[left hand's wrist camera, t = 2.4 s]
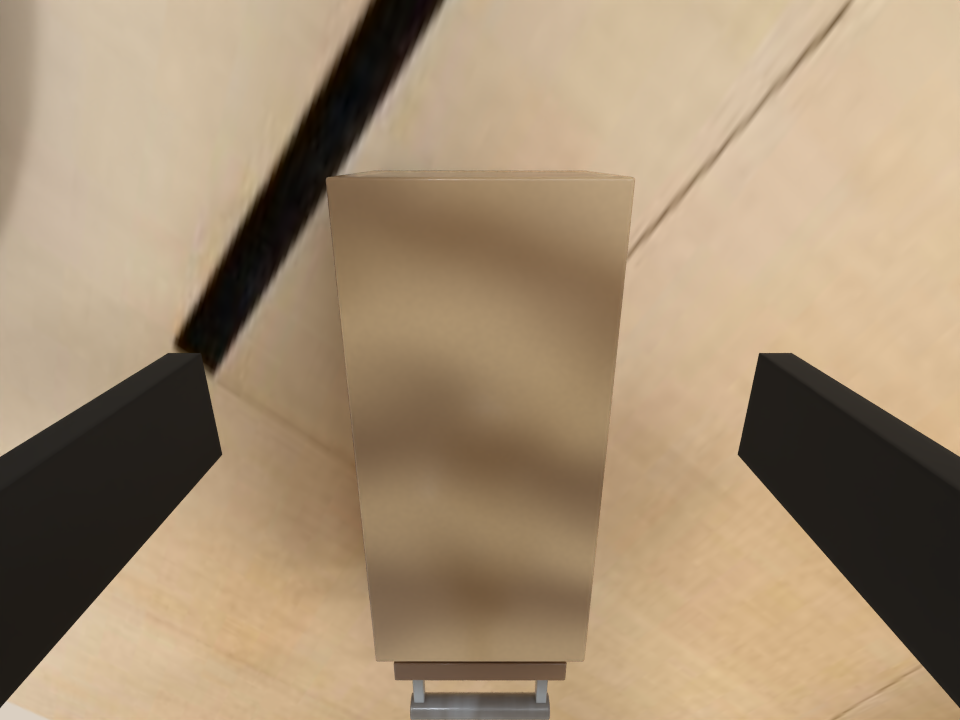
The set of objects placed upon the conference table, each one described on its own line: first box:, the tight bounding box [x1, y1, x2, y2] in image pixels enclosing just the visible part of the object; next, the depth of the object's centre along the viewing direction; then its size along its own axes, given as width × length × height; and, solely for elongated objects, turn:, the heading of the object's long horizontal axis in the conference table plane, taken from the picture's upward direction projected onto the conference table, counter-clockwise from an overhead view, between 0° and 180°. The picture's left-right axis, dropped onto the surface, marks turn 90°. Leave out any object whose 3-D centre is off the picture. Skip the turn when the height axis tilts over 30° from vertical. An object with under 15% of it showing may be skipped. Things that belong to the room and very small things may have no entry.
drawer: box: [394, 661, 566, 720], centre depth 26 cm, size 26×9×6 cm, turn 0°
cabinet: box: [326, 171, 635, 661], centre depth 24 cm, size 21×10×8 cm, turn 0°
